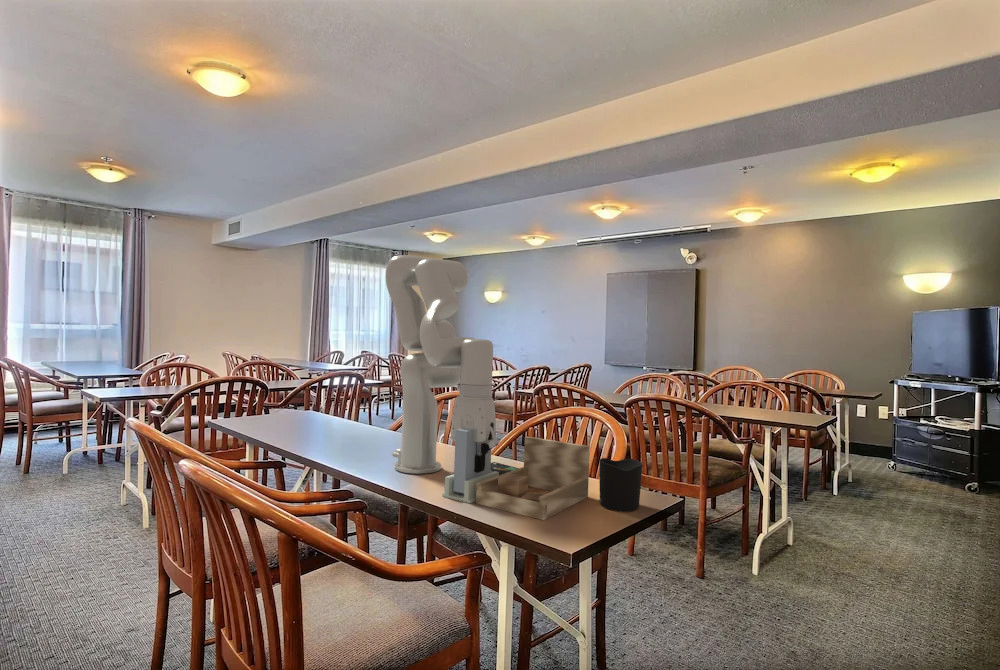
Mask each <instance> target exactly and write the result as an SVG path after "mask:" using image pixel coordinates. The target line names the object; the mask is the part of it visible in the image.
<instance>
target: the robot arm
mask: <svg viewBox="0 0 1000 670" xmlns="http://www.w3.org/2000/svg"><path fill="white" fill-rule="evenodd" d="M468 280H469V276H468V271H467V268H466V267H465V266H464V264H463V263H461V262H460V261H457V260H450V259H441V258H433V257H425V256H419V255H418V256H417V255H405V254H404V255H402V254H401V255H395V256H393V257H392V258H390V259H389V260H388V262H387V265H386V268H385V285H386V289H387V292H388V295H389V297H390V299H391V301H392V304H393V306H394V311H395V316H396V323H397V328H398V334H399V338H400V343H401V345H402V347H403V348H404V349H405V350H407V351H410V352H414V353H411V354H408V355H407V356H405V357H404V358H403V359H402V361H401V363H400V367H399V368H400V378H401V385H402V386H401V387H402V422H401V423H402V424H401V428H402V429H401V446H400V447H401V448H397V449H395V451H394V452H392V454H391V456H392V457H394V458H397V462H396V463H394V469H395V470H396V471H397V472H401V473H404V474H414V475H415V474H417V475H418V474H421V475H423V474H430V473H431V474H432V473H436V472H439V471H440V470H441V469H442V463H441V462H440V461H437V439H438V417H439V415H438V411H439V406H438V400H437V398H436V396H435V395H434V393H433V392H432V390H431V389H434V388H452V387H456V390H457V391H458V392H459V393H458V394H459V395H457V396H456V398H455V401H454V405H453V410H452V416H451V434H450V439H451V440H452V441H453V442H454V443H455V436H456V430H457V429H467V430H473V432H472V441H473V442H476V444H477V455H475V472H476V473H478V472H481V471H484V468H485V455H486V454H487V453H488V451H489V450H490V449H491V450H492V448H494V447H497V446H498V445H499V441H498V437H497V436H496V432H497V422H496V421H497V419H496V416H497V415H496V406H495V401H494V398H493V397H492V392H493V391H492V387H493V365H494V344H493V342H492V341H491V340H490V339H482V338H474V337H463V336H462V337H461V336H457V334H456V329H455V328H454V326H453V324H452V323H451V322H450V321H448V320H446V319H448V318H450V317H452V316H453V315H454V314H455V313H456V312H457V311H458V309H459V307H460V302H459V301H460V300H459V297H458V295H457V293H458V292H461V291H464V290H465V288H466V287H467V286H468V282H469V281H468ZM413 286H414V287H419V290H420V293H421V296H420V294H419V293H418V292H417V291H416V290H415V289H414V288H413ZM416 352H418V353H416ZM487 440H489V441H490V442H489V443H488V442H487Z"/></svg>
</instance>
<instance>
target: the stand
mask: <svg viewBox="0 0 1000 670" xmlns="http://www.w3.org/2000/svg"><path fill="white" fill-rule="evenodd" d="M496 476H499V472H496V471H494V472H491V473H488V474H485V475H482V476H479V477H476V478H473V479H470V480H467V481H465V482H464V494H463V493H459V492H455V491H453V487H454V473H453V474H450V475H447V476H445V477H444V493H442V494H441V495H442V498H446V499H447V498H448V499H451V500H456V501H458V500H459V502H462V501H463V502H464V503H466V502H467V504H473V503H474V502H475V503H476V488H477V483H478V482H481V481H484V480H487V479H490V478H493V477H496Z"/></svg>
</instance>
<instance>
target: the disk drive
mask: <svg viewBox="0 0 1000 670" xmlns="http://www.w3.org/2000/svg"><path fill="white" fill-rule="evenodd" d="M519 468H520V467H514V466H512V465H507V464H505V463H500V462H496V461H492V462H491V469H490V473H491V472H494V471H496V472H499V475H502V474H504V473H507V472H510V471H513V470H516V469H519Z"/></svg>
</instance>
